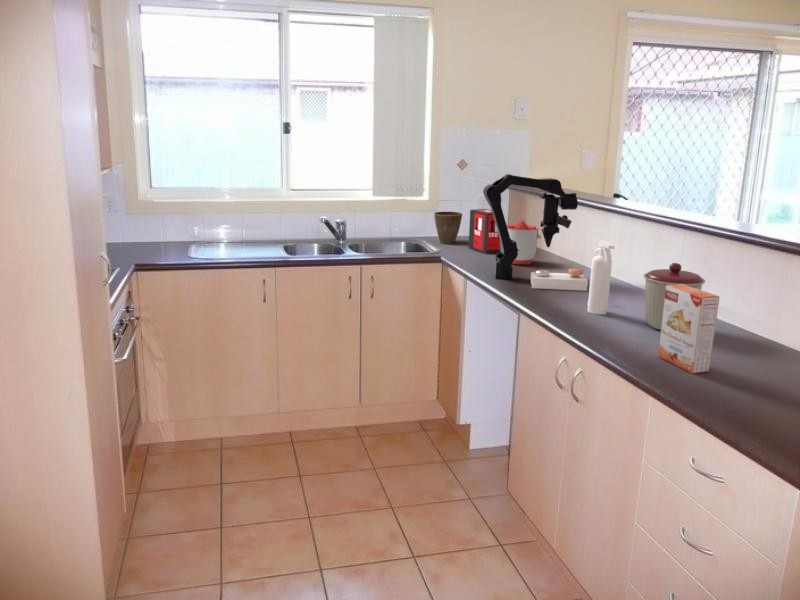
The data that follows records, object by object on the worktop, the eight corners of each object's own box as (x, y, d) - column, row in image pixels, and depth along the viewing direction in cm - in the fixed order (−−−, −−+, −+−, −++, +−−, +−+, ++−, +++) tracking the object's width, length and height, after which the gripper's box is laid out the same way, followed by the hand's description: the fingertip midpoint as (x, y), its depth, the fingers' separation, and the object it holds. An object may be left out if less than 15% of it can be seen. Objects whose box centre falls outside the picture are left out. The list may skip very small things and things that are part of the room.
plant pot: (447, 246, 357) (448, 215, 353) (427, 242, 368) (428, 212, 364) (466, 243, 367) (468, 213, 363) (446, 239, 378) (447, 210, 374)
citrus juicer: (542, 266, 310) (545, 222, 305) (504, 265, 311) (506, 222, 306) (536, 260, 326) (539, 218, 321) (500, 259, 326) (502, 217, 321)
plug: (534, 285, 272) (535, 272, 270) (533, 282, 277) (534, 269, 276) (549, 286, 271) (550, 273, 270) (547, 282, 276) (548, 270, 275)
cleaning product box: (500, 253, 342) (503, 213, 337) (485, 254, 338) (487, 213, 333) (483, 247, 356) (485, 209, 351) (468, 248, 352) (470, 209, 347)
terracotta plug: (568, 284, 270) (569, 271, 269) (566, 281, 275) (567, 268, 274) (582, 284, 269) (584, 271, 268) (581, 281, 275) (582, 268, 273)
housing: (532, 288, 269) (532, 278, 268) (530, 281, 280) (530, 271, 279) (586, 290, 266) (587, 280, 265) (582, 283, 278) (583, 274, 277)
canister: (685, 320, 228) (693, 258, 222) (708, 336, 210) (717, 269, 205) (631, 319, 228) (637, 257, 223) (648, 335, 211) (656, 268, 205)
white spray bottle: (598, 305, 244) (603, 236, 236) (613, 316, 232) (620, 243, 225) (580, 306, 242) (585, 237, 235) (594, 317, 231) (600, 244, 224)
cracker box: (656, 357, 191) (665, 284, 185) (674, 355, 192) (683, 283, 187) (691, 374, 178) (701, 296, 172) (710, 372, 179) (720, 295, 174)
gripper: (573, 213, 271) (570, 251, 275) (568, 207, 289) (565, 244, 293) (545, 212, 272) (542, 250, 276) (541, 206, 290) (539, 243, 294)
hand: (548, 247), depth 285 cm, fingers closed
